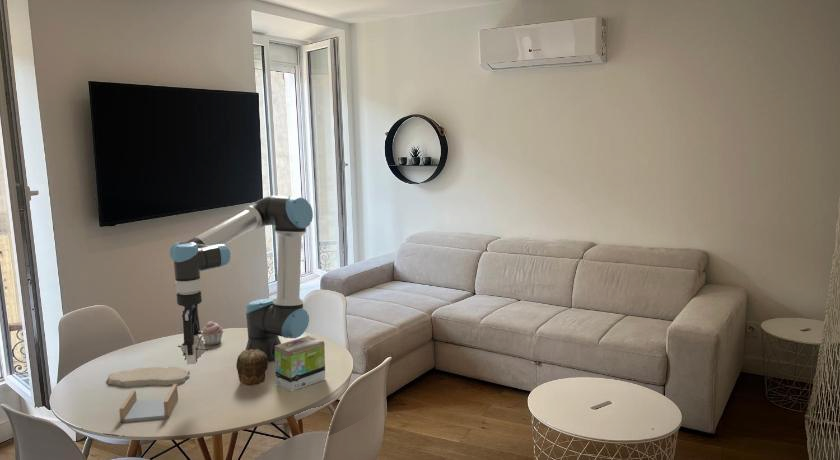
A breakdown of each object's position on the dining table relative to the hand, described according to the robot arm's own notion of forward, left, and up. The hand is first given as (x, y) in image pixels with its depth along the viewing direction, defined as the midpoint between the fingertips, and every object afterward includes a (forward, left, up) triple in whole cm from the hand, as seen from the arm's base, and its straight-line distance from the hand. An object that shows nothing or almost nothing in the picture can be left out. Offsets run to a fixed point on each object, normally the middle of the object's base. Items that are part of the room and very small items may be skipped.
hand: (194, 358), depth 205 cm
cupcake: (+4, -63, -16) cm, 65 cm away
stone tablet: (+21, -28, -16) cm, 38 cm away
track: (+14, +2, -15) cm, 21 cm away
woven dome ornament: (-17, -15, -16) cm, 27 cm away
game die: (0, 0, 0) cm, 0 cm away
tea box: (-34, -11, -16) cm, 39 cm away
